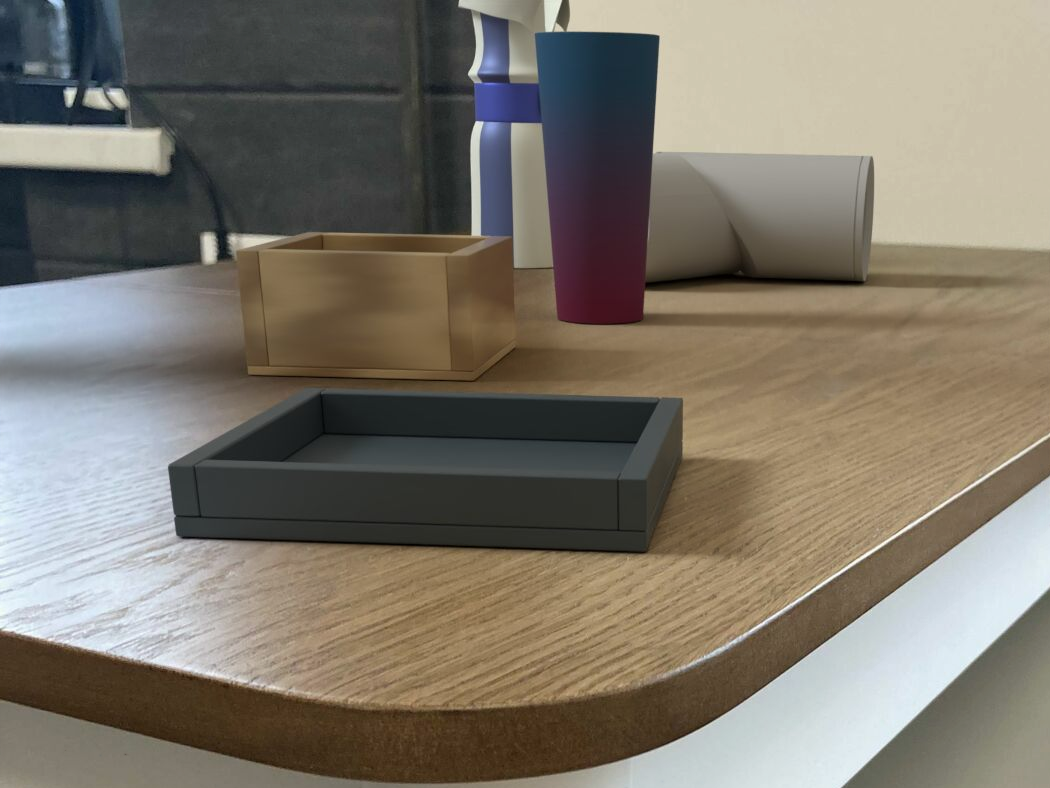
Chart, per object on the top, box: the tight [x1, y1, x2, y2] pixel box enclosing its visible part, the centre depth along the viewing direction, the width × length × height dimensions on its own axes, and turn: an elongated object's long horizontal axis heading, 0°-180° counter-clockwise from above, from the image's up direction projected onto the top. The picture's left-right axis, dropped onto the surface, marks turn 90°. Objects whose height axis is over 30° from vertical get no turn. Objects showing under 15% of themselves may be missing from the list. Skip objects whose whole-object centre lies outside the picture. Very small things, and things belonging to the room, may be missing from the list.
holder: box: [235, 231, 517, 382], centre depth 72 cm, size 10×10×5 cm
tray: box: [167, 387, 684, 553], centre depth 48 cm, size 14×13×2 cm
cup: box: [535, 30, 661, 325], centre depth 85 cm, size 7×7×15 cm
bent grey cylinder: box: [645, 151, 875, 284], centre depth 106 cm, size 18×11×20 cm
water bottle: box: [458, 0, 571, 269], centre depth 112 cm, size 8×9×25 cm
